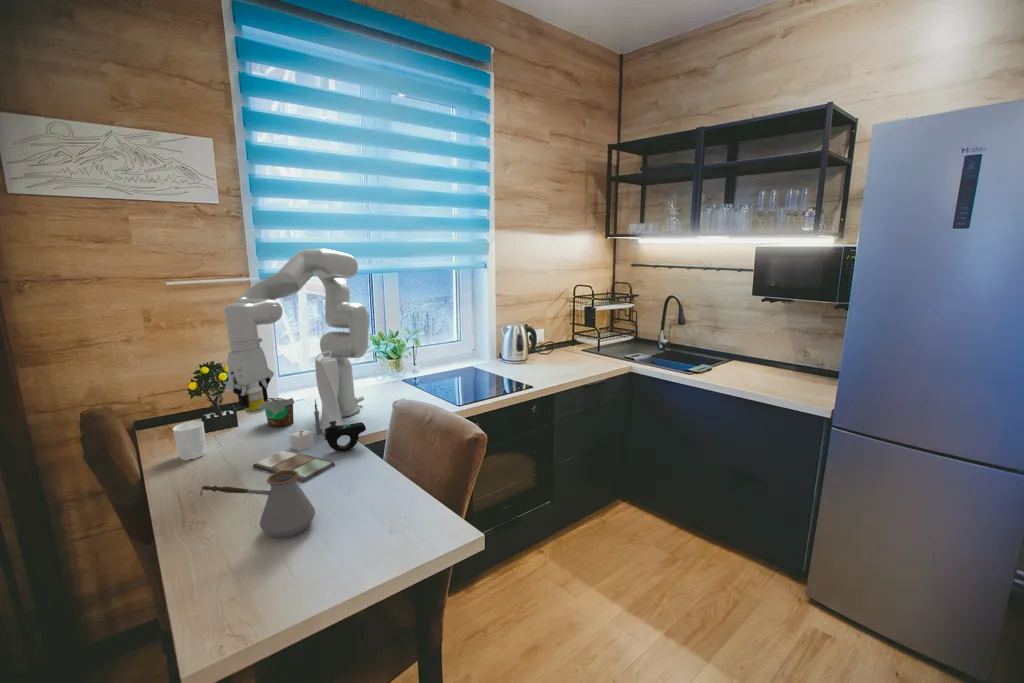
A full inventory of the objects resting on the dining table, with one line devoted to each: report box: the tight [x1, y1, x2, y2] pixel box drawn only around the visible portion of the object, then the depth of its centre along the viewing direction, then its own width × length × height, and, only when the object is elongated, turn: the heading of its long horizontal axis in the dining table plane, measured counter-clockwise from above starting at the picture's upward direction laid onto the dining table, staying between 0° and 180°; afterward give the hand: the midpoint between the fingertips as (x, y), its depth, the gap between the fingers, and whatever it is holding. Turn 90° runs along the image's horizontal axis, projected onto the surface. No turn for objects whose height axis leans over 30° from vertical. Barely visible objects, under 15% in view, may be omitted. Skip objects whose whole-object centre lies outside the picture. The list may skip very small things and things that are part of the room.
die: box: [289, 429, 314, 451], centre depth 152 cm, size 4×4×5 cm
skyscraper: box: [313, 351, 344, 436], centre depth 162 cm, size 8×8×28 cm
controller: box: [323, 421, 367, 453], centre depth 148 cm, size 4×12×10 cm, turn 117°
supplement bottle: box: [244, 381, 265, 415], centre depth 141 cm, size 5×5×10 cm
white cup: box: [172, 420, 207, 461], centre depth 146 cm, size 8×8×10 cm
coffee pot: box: [199, 470, 316, 539], centre depth 104 cm, size 21×12×15 cm, turn 121°
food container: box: [264, 396, 295, 429], centre depth 169 cm, size 12×6×10 cm, turn 73°
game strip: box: [252, 449, 336, 483], centre depth 138 cm, size 11×21×1 cm, turn 64°
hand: (254, 403), depth 142 cm, fingers closed on supplement bottle, 5 cm apart
